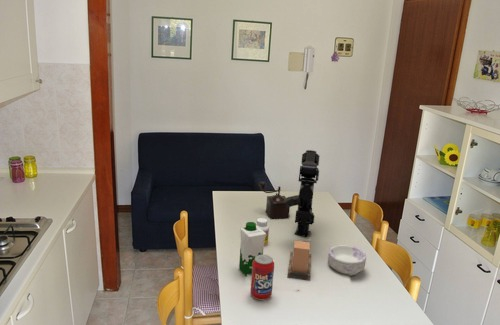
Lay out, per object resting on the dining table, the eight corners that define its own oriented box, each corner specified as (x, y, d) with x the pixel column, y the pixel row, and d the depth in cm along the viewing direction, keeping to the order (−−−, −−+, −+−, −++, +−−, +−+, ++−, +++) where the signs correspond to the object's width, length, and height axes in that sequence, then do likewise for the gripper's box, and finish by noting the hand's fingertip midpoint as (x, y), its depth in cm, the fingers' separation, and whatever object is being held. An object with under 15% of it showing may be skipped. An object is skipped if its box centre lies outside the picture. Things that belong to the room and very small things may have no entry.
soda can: (259, 286, 156) (261, 251, 152) (275, 295, 152) (279, 258, 148) (245, 295, 151) (248, 258, 146) (262, 304, 146) (265, 266, 142)
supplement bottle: (266, 250, 184) (268, 224, 180) (251, 248, 185) (253, 222, 182) (268, 243, 190) (270, 218, 187) (254, 241, 191) (256, 216, 188)
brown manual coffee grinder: (282, 210, 229) (285, 180, 224) (289, 218, 219) (292, 187, 214) (255, 211, 226) (258, 180, 221) (261, 220, 215) (263, 187, 210)
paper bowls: (319, 263, 176) (321, 247, 174) (349, 258, 182) (351, 242, 180) (340, 282, 162) (343, 265, 160) (371, 276, 168) (374, 259, 166)
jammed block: (292, 267, 169) (294, 240, 165) (306, 269, 168) (309, 242, 164) (291, 274, 163) (293, 247, 160) (306, 277, 162) (309, 249, 159)
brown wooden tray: (289, 258, 178) (290, 251, 177) (310, 261, 177) (311, 254, 176) (286, 280, 161) (287, 272, 160) (309, 284, 160) (310, 275, 159)
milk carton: (254, 264, 172) (258, 220, 167) (265, 274, 165) (269, 229, 159) (235, 268, 168) (238, 223, 163) (245, 279, 161) (249, 232, 155)
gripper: (289, 183, 190) (286, 214, 194) (286, 197, 172) (283, 231, 176) (313, 185, 188) (310, 217, 193) (313, 200, 170) (309, 234, 175)
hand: (303, 224), depth 184 cm, fingers closed
